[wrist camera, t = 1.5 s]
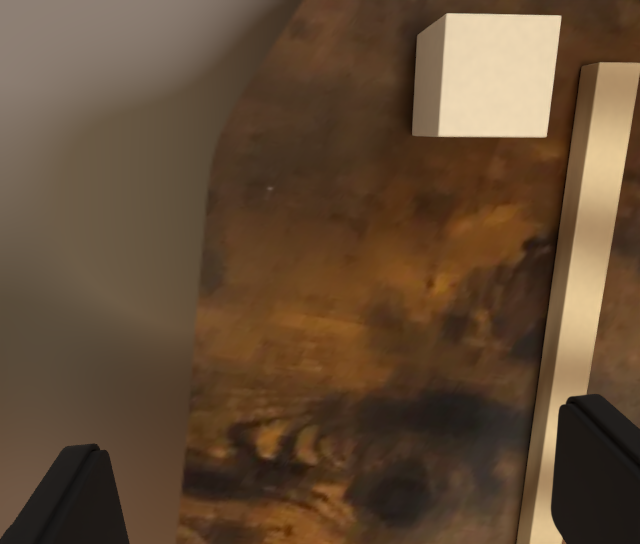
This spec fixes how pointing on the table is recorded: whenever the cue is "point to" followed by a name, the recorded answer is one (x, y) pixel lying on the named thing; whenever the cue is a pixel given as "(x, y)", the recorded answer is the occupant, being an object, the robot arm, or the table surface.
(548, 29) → the block
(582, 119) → the rail
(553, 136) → the table surface
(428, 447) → the table surface
